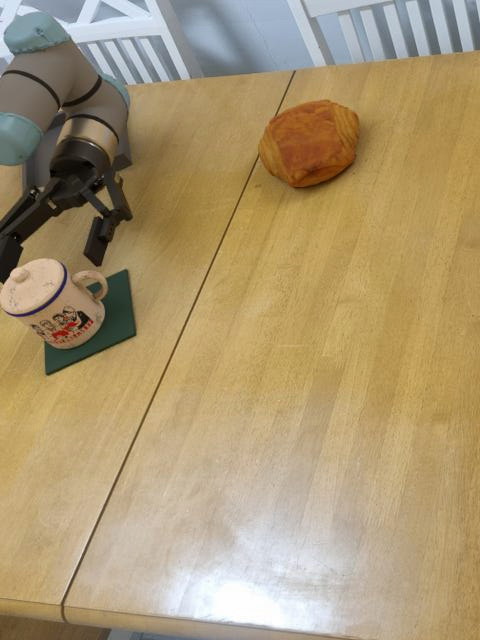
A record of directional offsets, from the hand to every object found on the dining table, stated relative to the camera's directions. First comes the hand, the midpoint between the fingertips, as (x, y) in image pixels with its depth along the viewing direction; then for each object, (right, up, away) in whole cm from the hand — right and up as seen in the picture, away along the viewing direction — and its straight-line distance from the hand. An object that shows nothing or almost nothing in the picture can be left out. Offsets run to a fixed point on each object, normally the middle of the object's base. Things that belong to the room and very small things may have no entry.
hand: (45, 270), depth 96 cm
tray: (-11, +24, +29) cm, 39 cm away
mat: (+2, -6, +6) cm, 9 cm away
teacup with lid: (+2, -6, +6) cm, 9 cm away
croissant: (+32, +19, +15) cm, 40 cm away
